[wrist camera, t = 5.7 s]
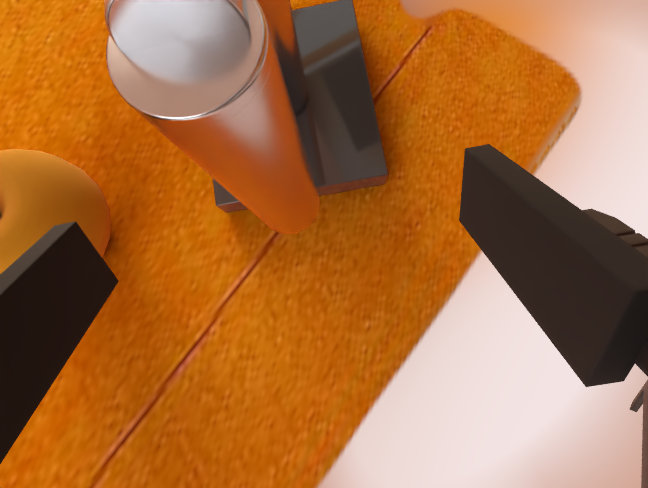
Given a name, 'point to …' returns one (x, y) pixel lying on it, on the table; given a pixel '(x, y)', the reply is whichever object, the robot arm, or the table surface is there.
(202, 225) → the table surface
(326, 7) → the tap base
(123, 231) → the table surface
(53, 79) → the table surface
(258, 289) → the table surface
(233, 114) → the spout
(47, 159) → the apple
